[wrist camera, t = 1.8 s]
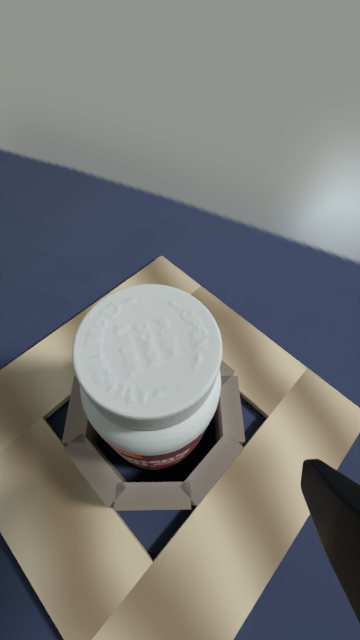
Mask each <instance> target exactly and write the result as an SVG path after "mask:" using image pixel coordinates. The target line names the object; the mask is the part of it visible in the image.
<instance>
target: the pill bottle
mask: <svg viewBox="0 0 360 640" xmlns="http://www.w3.org/2000/svg"><path fill="white" fill-rule="evenodd" d="M222 349H223V348H222V339H221V334H220V330H219V328H218V325H217V323H216V321H215V319H214V318H213V316H212V314H211V313H210V312H209V310H208V309H207V308H206V307H205V306H204V305H203V304H202V303H201V302H200V301H199V300H197V299H196V298H195V297H193V296H192V295H190V294H189V293H186V292H184V291H182V290H180V289H177V288H174V287H170V286H166V285H159V284H141V285H135V286H130V287H126V288H123V289H121V290H118V291H116V292H114V293H112V294H110V295H108V296H106V297H105V298H103V299H102V300H101V301H99V302H98V303H97V304H96V305H94V306H93V307H92V308H91V310H90V311H89V312H88V313H87V314H86V315H85V317H84V318H83V320H82V322H81V323H80V325H79V327H78V330H77V332H76V334H75V338H74V341H73V348H72V362H73V368H74V372H75V375H76V378H77V380H78V382H79V384H80V394H81V401H82V405H83V408H84V411H85V414H86V416H87V418H88V420H89V422H90V423H91V425H92V426H93V428H94V429H95V430H96V431H97V432H98V433H99V435H100V436H101V437H102V438H103V439H104V440H105V441H106V442H107V443H108V444H109V445H110V446H111V447H112V448H113V449H114V450H115V451H116V452H117V453H118V454H120V455H121V456H122V457H123V458H124V459H126V460H127V461H128V462H130V463H132V464H133V465H135V466H138V467H140V468H144V469H150V470H159V469H165V468H169V467H172V466H174V465H176V464H178V463H180V462H181V461H183V460H184V459H185V458H186V457H187V456H188V455H189V454H190V453H191V452H192V451H193V450H194V448H195V447H196V445H197V444H198V442H199V441H200V439H201V437H202V435H203V433H204V432H205V430H206V428H207V426H208V425H209V423H210V421H211V419H212V418H213V416H214V414H215V411H216V409H217V406H218V402H219V397H220V392H221V373H220V365H221V361H222Z"/></svg>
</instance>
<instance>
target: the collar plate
mask: <svg viewBox="0 0 360 640" xmlns="http://www.w3.org/2000/svg"><path fill="white" fill-rule="evenodd" d="M141 284H159V285H166V286H170V287H174V288H177V289H180V290H182V291H184V292H186V293H189V294H190V295H192V296H193V297H195V298H196V299H197V300H199V301H200V302H201V303H202V304H203V305H204V306H205V307H206V308H207V309H208V310H209V312H210V313H211V314H212V316H213V318H214V319H215V321H216V323H217V325H218V328H219V330H220V334H221V339H222V348H223V349H222V361H221V365H220V373H221V392H220V397H219V402H218V406H217V409H216V411H215V414H214V425H215V439H216V444H215V446H214V447H213V448H212V449H211V450H210V451H209V453H208V454H207V455H206V456H205V457H204V459H203V460H202V461H201V462H200V463H199V464H198V466H197V467H196V468H195V469H194V470H193V471H192V473H191V474H190V475H189V476H188V477H187V479H186V480H185V481H184V482H127V481H126V480H125V479H124V478H123V476H122V475H121V474H120V473H119V472H118V470H117V469H116V468H115V467H114V465H113V464H112V463H111V462H110V461H109V459H108V458H107V457H106V456H105V454H104V453H103V452H102V451H101V450H100V448H99V447H98V446H97V438H98V432H97V431H96V430H95V429H94V428H93V426H92V425H91V423H90V422H89V420H88V418H87V416H86V414H85V411H84V408H83V405H82V401H81V394H80V384H79V382H78V380H77V378H76V375H75V372H74V368H73V362H72V348H73V341H74V338H75V334H76V332H77V330H78V327H79V325H80V323H81V322H82V320H83V318H84V317H85V315H86V314H87V313H88V312H89V311H90V310H91V308H92V307H93V306H94V305H96V304H97V303H98V302H99V301H101V300H102V299H103V298H105V297H106V296H108V295H110V294H112V293H114V292H116V291H118V290H121V289H123V288H126V287H130V286H135V285H141ZM240 396H242V397H243V398H244V399H245V400H246V401H247V402H248V403H250V404H251V405H252V406H253V407H254V408H255V409H256V410H257V411H259V412H260V413H261V414H262V415H263V416H264V417H265V418H266V420H265V421H264V422H263V423H262V425H261V426H260V427H259V428H258V430H257V431H256V432H255V433H254V435H253V436H252V437H251V438H250V440H249V441H248V442H247V444H246V445H245V446H244V447H243V446H242V444H243V443H244V442H245V434H244V425H243V417H242V409H241V400H240ZM69 399H70V401H69V407H68V412H67V417H66V423H65V428H64V434H63V439H62V441H61V439H60V438H59V437H58V435H57V434H56V433H55V431H54V430H53V429H52V428H51V426H50V425H49V424H48V422H47V421H46V420H45V419H47V418H48V417H49V416H50V415H51V414H53V413H54V412H55V411H56V410H57V409H59V408H60V407H61V406H62V405H63V404H65V403H66V402H67V401H68V400H69ZM359 433H360V408H359V407H357V406H356V405H355V404H354V403H352V402H351V401H350V400H348V399H347V398H346V397H344V396H343V395H342V394H341V393H339V392H338V391H337V390H335V389H334V388H333V387H331V386H330V385H329V384H328V383H326V382H325V381H324V380H322V379H321V378H320V377H318V376H317V375H316V374H315V373H313V372H312V371H311V370H309V369H308V368H307V367H306V366H304V365H303V364H302V363H300V362H299V361H298V360H296V359H295V358H294V357H293V356H291V355H290V354H289V353H287V352H286V351H285V350H283V349H282V348H281V347H280V346H278V345H277V344H276V343H274V342H273V341H272V340H270V339H269V338H268V337H267V336H265V335H264V334H263V333H261V332H260V331H259V330H258V329H256V328H255V327H254V326H252V325H251V324H250V323H248V322H247V321H246V320H245V319H243V318H242V317H241V316H239V315H238V314H237V313H235V312H234V311H233V310H232V309H230V308H229V307H228V306H226V305H225V304H224V303H222V302H221V301H220V300H219V299H217V298H216V297H215V296H213V295H212V294H211V293H210V292H208V291H207V290H206V289H204V288H203V287H202V286H200V285H199V284H198V283H197V282H195V281H194V280H193V279H191V278H190V277H189V276H187V275H186V274H185V273H184V272H182V271H181V270H180V269H178V268H177V267H176V266H174V265H173V264H172V263H171V262H169V261H168V260H167V259H165V258H164V257H163V256H160V257H159V258H157V259H156V260H154V261H153V262H152V263H150V264H149V265H147V266H146V267H145V268H143V269H142V270H140V271H139V272H138V273H136V274H135V275H133V276H132V277H131V278H129V279H128V280H126V281H125V282H124V283H122V284H121V285H119V286H118V287H116V288H115V289H114V290H112V291H111V292H109V293H108V294H107V295H105V296H104V297H102V298H101V299H100V300H98V301H97V302H95V303H94V304H93V305H91V306H90V307H88V308H87V309H86V310H84V311H83V312H81V313H80V314H78V315H77V316H76V317H74V318H73V319H71V320H70V321H69V322H67V323H66V324H64V325H63V326H62V327H60V328H59V329H57V330H56V331H55V332H53V333H52V334H50V335H49V336H48V337H46V338H45V339H43V340H42V341H41V342H39V343H38V344H36V345H35V346H33V347H32V348H31V349H29V350H28V351H26V352H25V353H24V354H22V355H21V356H19V357H18V358H17V359H15V360H14V361H12V362H11V363H10V364H8V365H7V366H5V367H4V368H3V369H1V370H0V532H1V534H2V536H3V538H4V539H5V541H6V543H7V544H8V546H9V548H10V549H11V551H12V553H13V555H14V556H15V558H16V560H17V561H18V563H19V565H20V566H21V568H22V570H23V571H24V573H25V575H26V577H27V578H28V580H29V582H30V583H31V585H32V587H33V588H34V590H35V592H36V593H37V595H38V597H39V599H40V600H41V602H42V604H43V605H44V607H45V609H46V610H47V612H48V614H49V615H50V617H51V619H52V621H53V622H54V624H55V626H56V627H57V629H58V631H59V632H60V634H61V636H62V637H63V639H64V640H233V639H234V637H235V636H236V634H237V633H238V631H239V629H240V628H241V626H242V624H243V623H244V621H245V619H246V618H247V616H248V615H249V613H250V611H251V610H252V608H253V606H254V605H255V603H256V601H257V600H258V598H259V597H260V595H261V593H262V592H263V590H264V588H265V587H266V585H267V583H268V582H269V580H270V578H271V577H272V575H273V574H274V572H275V570H276V569H277V567H278V565H279V564H280V562H281V560H282V559H283V557H284V556H285V554H286V552H287V551H288V549H289V547H290V546H291V544H292V542H293V541H294V539H295V538H296V536H297V534H298V533H299V531H300V529H301V528H302V526H303V524H304V523H305V521H306V519H307V518H308V516H309V515H310V512H309V509H308V506H307V504H306V501H305V499H304V496H303V493H302V490H301V475H302V466H303V462H304V460H306V459H320V460H321V461H323V462H324V463H326V464H328V465H329V466H331V467H332V468H334V469H335V470H337V469H338V467H339V465H340V464H341V462H342V460H343V459H344V457H345V456H346V454H347V452H348V451H349V449H350V447H351V446H352V444H353V442H354V441H355V439H356V438H357V436H358V434H359ZM65 445H67V446H65ZM191 504H192V505H194V506H196V508H195V509H194V510H193V511H192V513H191V514H190V515H189V516H188V518H187V519H186V520H185V521H184V523H183V524H182V525H181V526H180V528H179V529H178V530H177V531H176V533H175V534H174V535H173V536H172V538H171V539H170V540H169V542H168V543H167V544H166V545H165V547H164V548H163V549H162V550H161V552H160V553H159V554H158V555H157V557H156V558H155V559H154V560H153V559H152V558H151V556H150V555H149V554H148V552H147V551H146V550H145V548H144V547H143V546H142V545H141V543H140V542H139V541H138V539H137V538H136V537H135V535H134V534H133V533H132V532H131V530H130V529H129V528H128V526H127V525H126V524H125V522H124V521H123V520H122V519H121V517H120V516H119V515H118V513H117V512H116V511H123V510H185V509H191ZM113 507H114V508H113Z"/></svg>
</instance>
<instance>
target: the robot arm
mask: <svg viewBox="0 0 360 640" xmlns="http://www.w3.org/2000/svg"><path fill="white" fill-rule="evenodd" d="M301 490H302V493H303V496H304V499H305V501H306V504H307V506H308V509H309V512H310V514H311V517H312V520H313V522H314V525H315V527H316V530H317V533H318V535H319V538H320V540H321V543H322V545H323V548H324V550H325V553H326V555H327V557H328V559H329V561H330V563H331V565H332V567H333V570H334V572H335V574H336V576H337V578H338V580H339V582H340V584H341V586H342V588H343V590H344V592H345V594H346V596H347V598H348V600H349V602H350V604H351V606H352V608H353V610H354V613H355V615H356V617H357V619H358V621H359V623H360V485H358V484H357V483H355V482H354V481H352V480H351V479H349V478H348V477H346V476H345V475H343V474H341V473H340V472H338V471H337V470H335V469H334V468H332V467H331V466H329V465H328V464H326V463H324V462H323V461H321V460H320V459H306V460H304V462H303V466H302V475H301Z"/></svg>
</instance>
